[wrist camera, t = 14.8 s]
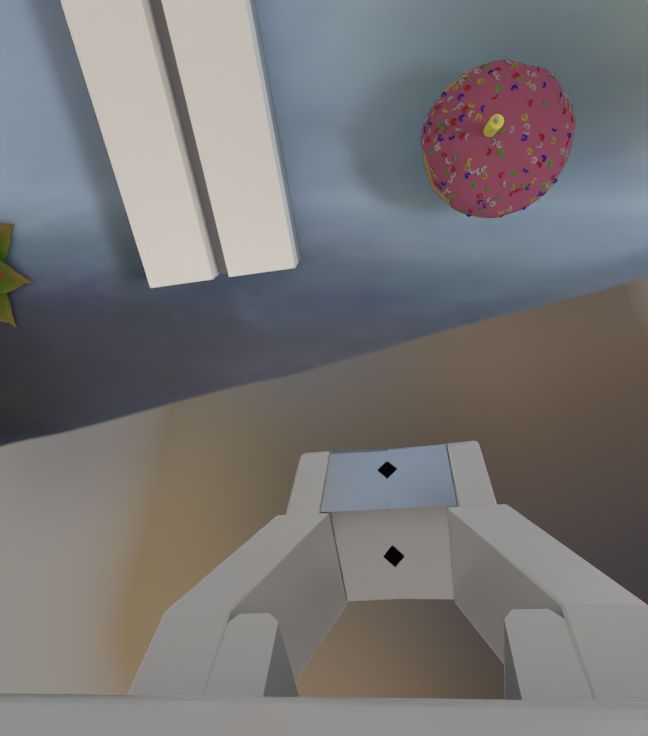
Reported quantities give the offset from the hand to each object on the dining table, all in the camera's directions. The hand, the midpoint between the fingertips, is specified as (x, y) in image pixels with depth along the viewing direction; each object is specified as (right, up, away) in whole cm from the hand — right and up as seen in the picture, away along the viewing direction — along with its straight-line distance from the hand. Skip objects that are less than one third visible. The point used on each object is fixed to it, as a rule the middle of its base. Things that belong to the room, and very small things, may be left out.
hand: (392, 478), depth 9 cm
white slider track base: (-11, +24, +24) cm, 35 cm away
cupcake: (+9, +17, +25) cm, 32 cm away
